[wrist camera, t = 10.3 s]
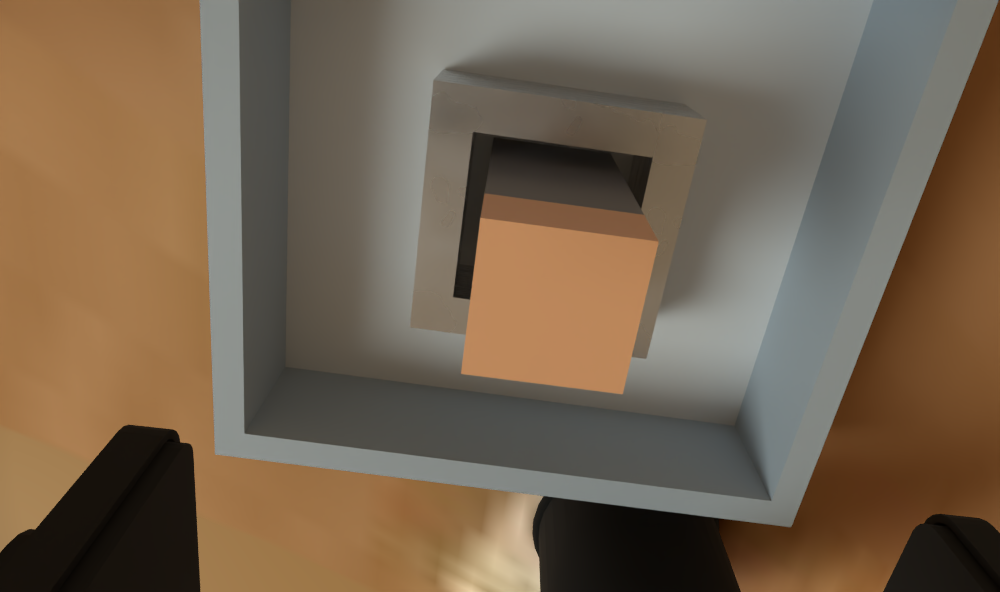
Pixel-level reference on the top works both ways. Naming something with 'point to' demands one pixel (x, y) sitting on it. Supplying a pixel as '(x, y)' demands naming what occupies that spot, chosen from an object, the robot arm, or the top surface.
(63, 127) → the top surface
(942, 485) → the top surface
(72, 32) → the top surface
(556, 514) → the aerosol can
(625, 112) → the inlet
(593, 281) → the block
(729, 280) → the walled box
